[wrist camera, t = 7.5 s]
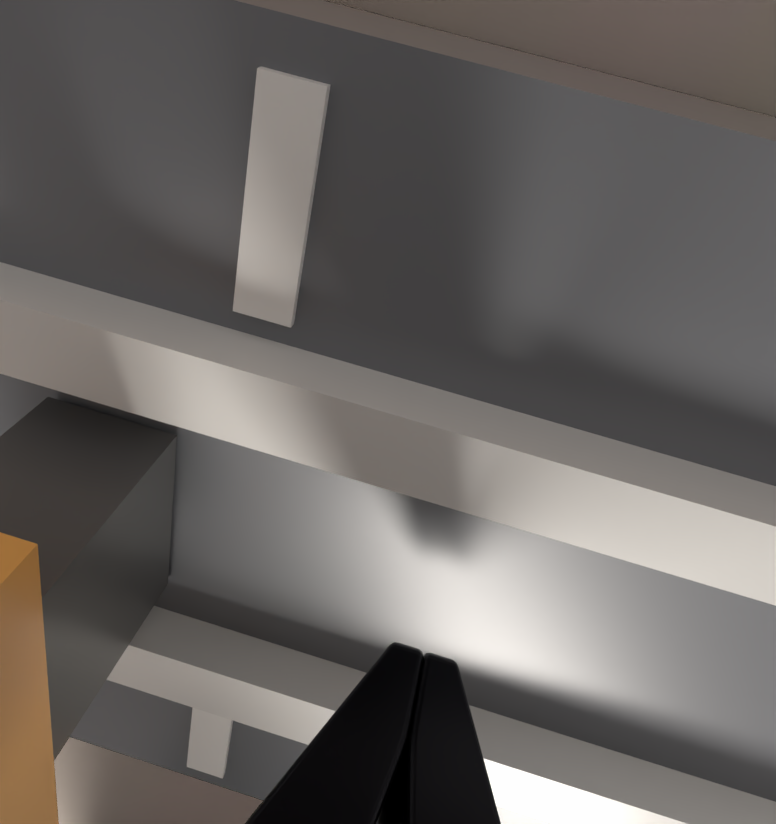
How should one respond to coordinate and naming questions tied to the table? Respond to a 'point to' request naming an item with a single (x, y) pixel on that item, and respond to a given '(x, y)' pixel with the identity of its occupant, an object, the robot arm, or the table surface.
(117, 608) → the fader
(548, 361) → the console
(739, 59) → the table surface
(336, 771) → the robot arm
